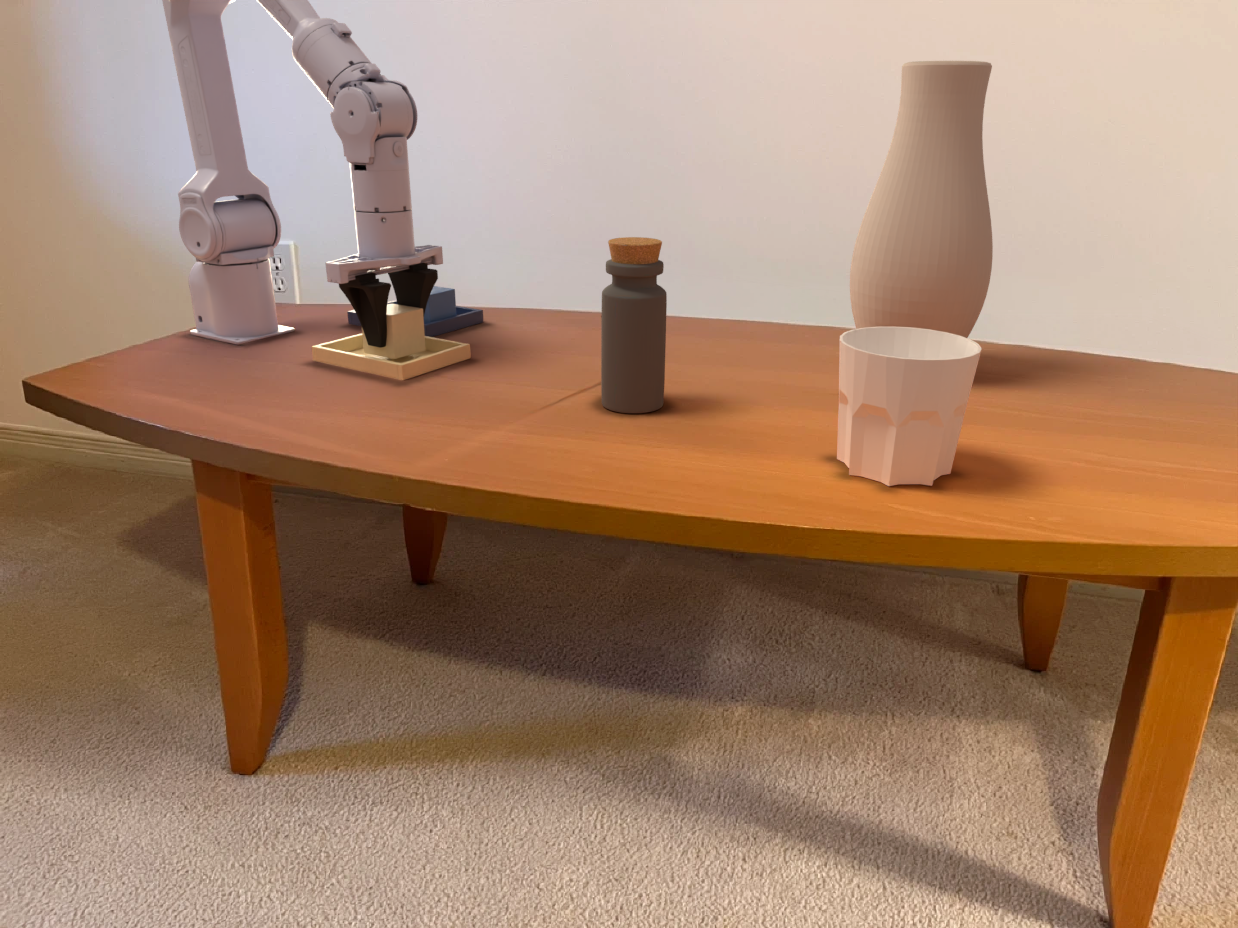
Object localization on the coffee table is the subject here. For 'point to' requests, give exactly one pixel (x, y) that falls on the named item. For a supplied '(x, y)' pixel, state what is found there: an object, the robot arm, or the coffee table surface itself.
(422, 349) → the cream block
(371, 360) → the cream tray
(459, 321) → the blue tray
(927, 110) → the vase
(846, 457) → the cup
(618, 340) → the bottle
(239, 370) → the coffee table surface
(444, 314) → the blue block
